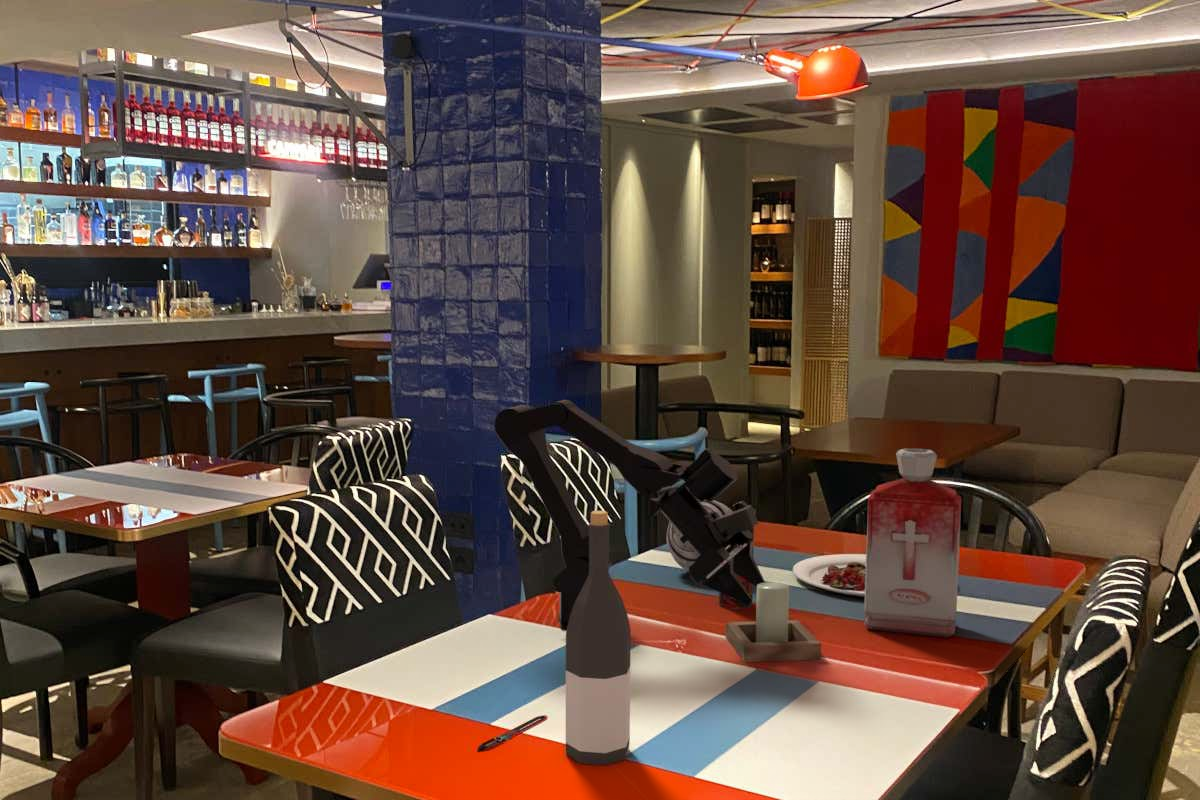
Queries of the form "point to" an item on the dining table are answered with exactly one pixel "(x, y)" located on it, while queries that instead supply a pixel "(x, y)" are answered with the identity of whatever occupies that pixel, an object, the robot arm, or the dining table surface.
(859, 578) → the plated food
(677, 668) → the dining table surface
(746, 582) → the deodorant
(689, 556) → the decorative orb
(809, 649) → the collar
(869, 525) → the bottle
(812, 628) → the dining table surface
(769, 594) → the pale green cylinder
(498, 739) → the pen
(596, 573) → the wine bottle
